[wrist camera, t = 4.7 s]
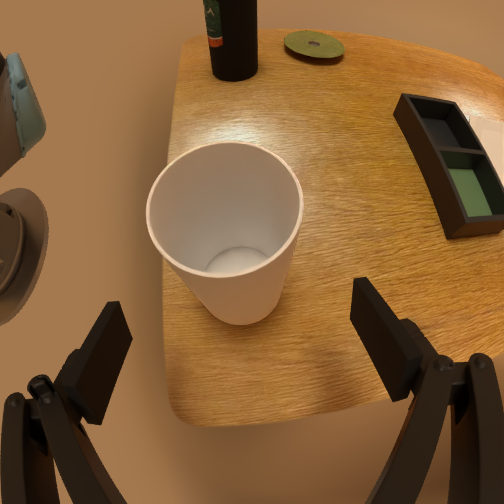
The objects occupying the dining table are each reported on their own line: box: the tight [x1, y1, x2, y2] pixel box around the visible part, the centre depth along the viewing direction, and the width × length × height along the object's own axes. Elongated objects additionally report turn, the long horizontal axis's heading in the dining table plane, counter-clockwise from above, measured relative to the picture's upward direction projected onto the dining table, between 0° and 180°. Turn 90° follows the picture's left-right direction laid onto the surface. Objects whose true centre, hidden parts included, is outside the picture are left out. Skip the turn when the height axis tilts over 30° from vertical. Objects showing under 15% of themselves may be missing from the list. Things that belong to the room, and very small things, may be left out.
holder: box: [393, 93, 504, 239], centre depth 33 cm, size 11×21×5 cm, turn 6°
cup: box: [146, 141, 304, 325], centre depth 22 cm, size 8×8×16 cm
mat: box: [284, 31, 345, 58], centre depth 45 cm, size 11×11×2 cm
